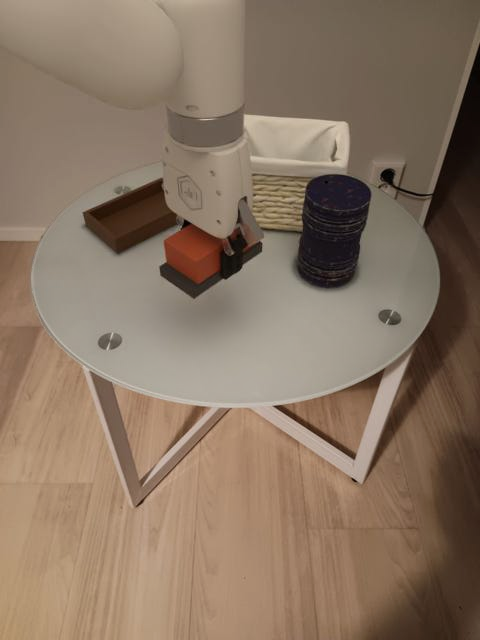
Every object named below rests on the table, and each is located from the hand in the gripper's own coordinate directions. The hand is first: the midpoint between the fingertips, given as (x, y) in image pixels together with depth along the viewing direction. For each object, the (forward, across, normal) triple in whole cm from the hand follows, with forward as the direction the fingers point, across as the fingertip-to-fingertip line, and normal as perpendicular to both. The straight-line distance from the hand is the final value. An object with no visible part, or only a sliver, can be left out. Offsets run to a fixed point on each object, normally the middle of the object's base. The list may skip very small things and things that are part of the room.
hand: (212, 259), depth 63 cm
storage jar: (+16, +2, +24) cm, 29 cm away
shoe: (+1, 0, 0) cm, 1 cm away
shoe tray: (+15, -31, +12) cm, 37 cm away
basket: (+16, -16, +31) cm, 38 cm away
